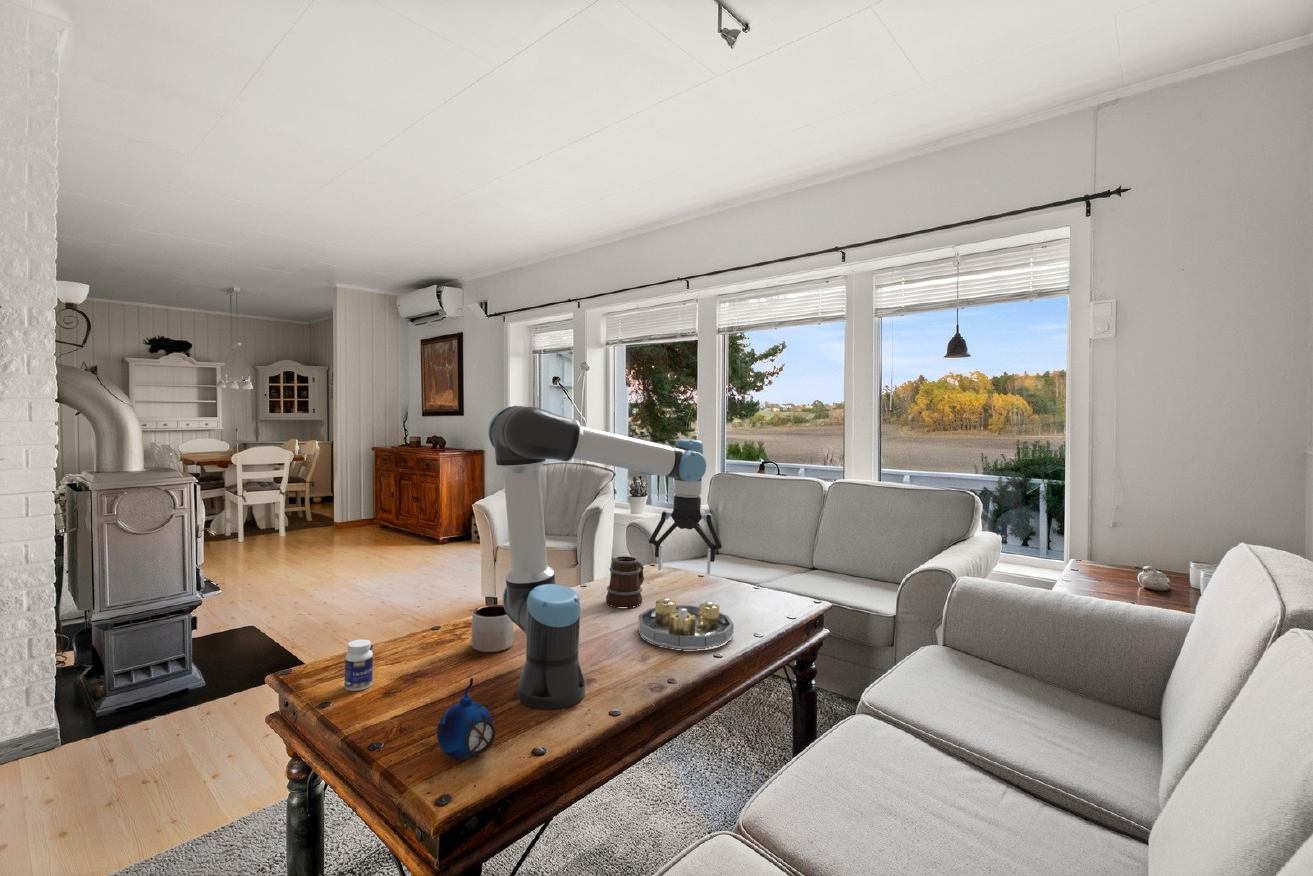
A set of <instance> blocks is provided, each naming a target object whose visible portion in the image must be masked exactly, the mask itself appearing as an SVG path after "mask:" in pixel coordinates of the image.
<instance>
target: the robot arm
mask: <svg viewBox="0 0 1313 876" xmlns="http://www.w3.org/2000/svg"><path fill="white" fill-rule="evenodd" d="M487 430H488V431H487V433H488V434H487V435H488V438H489V441H490V444H491V445H492V447H493V448H494V453H495V454H494V455H495V464H496V465H495V466H496V467H497V468H499V469H500V470H501V471H502V472H503V480H504V494H505V495H504V496H505V506H506V507H505V508H506V517H507V529H508V531H507V532H508V542H509V554H510V555H509V556H510V565H511V566H510V568H511V569H510V571H509V572H508V573H507V574H506V576H505V584H506V587H505V588H504V591H503V594H502V605H503V606H504V609H505V612H506V614H507V615H508V617H509V618H510V620H512V622H513V624H515V625H516V626H517V627H519V629H520V630H522V632H523V633H524V634H526V646H525V647H526V649H525V651H526V653H525V655H526V656H525V663H524V665H523V669H522V671H521V674H520V677H519V680H518V683H517V687H516V688H517V689H516V690H517V691H516V697H517V700H518V701H519V702H520V703H521V704H523V706H524V705H525V706H527V707H530V708H533V709H538V710H539V709H540V710H557V709H558V710H559V709H564V708H567V707H571V706H573V705H575V704H577V703H579V702H580V701H582V700H583V698H584V697H585V696H586V681H585V678H584V674H583V670H582V667H581V663H580V661H579V654H580V653H579V649H580V648H579V647H580V645H579V644H580V622H581V621H580V620H581V613H582V611H581V610H582V608H581V603H580V602H581V601H580V599H581V598H580V596H579V594H578V593H577V591H576V590H575V589H573V588H571V587H569V586H567V585H566V586H565V585H564V586H563V585H562V584H556V576H555V573H556V572H555V569H553V568H552V567H551V566H549V564H548V553H547V552H548V551H547V542H546V541H547V540H546V539H547V538H546V528H545V516H544V514H545V513H544V504H543V503H544V502H543V491H542V490H543V489H542V476H541V468H542V467H543V466H544V464H545V463H546V462H547V460H556V461H561V462H570V461H572V460H573V459H574V460H580V461H585V462H589V463H590V462H591V463H595V464H602V465H606V466H610V467H617V468H620V469H625V470H626V469H627V470H631V471H637V472H638V473H639V475H643V476H644V475H647V476H652V475H653V476H656V475H657V476H662V477H665V478H672V479H674V484H673V486H674V487H673V493H674V494H675V495H674V496H673V508H672V509H673V510H672V512H671V511H667V510H663V511H662V512H661V515H660V520H659V521H658V524H657V526H656V527H655V529H654V531H653V533H652V535H651V536H650V538H649V539H648V542H649V544H651V545H654V557H655V558H658V560H657V561H658V563H657V566H658V567H657V570H658V571H661V570H662V569H663V560H664V558H663V557H664V544H662V543H663V542H664V541H665V540H666V539H667V538H668V537H669V536H670V535H671V534H672V532H674V530H676V528H679V529H681V530H684V529H685V530H686V529H687V530H693V529H694V530H695V531H696V532H697V533H698V534H699V536H700V538H702V540H703V541H704V542H705V543H706V545H707V547H708V549H707V561H706V564H707V565H706V575H710V574H711V569H712V568H711V566H712V565H711V564H712V563H714V562H715V561H716V551H717V550H719V549H720V550H721V549H722V547H723V543H722V541H721V538H720V537H719V534H718V532H717V530H716V527H715V525H714V523H713V518H712V516H713V515H712V514H711V513H706V514H702V512H701V508H702V507H701V503H702V502H701V501H702V500H701V499H702V498H701V495H702V484H703V483H702V481H703V480H702V479H703V477H704V475H706V471H707V461H706V458H705V456H704V446H703V442H702V441H701V440H699V439H677V440H676V443H675V446H670V445H667V444H666V445H665V444H661V443H657V442H652V441H648V440H644V439H640V438H635V437H631V436H626V435H623V434H618V433H614V432H609V431H605V430H602V429H601V430H600V429H596V428H592V427H589V426H583V425H580V422H579V421H578V420H577V419H573V418H568V417H565V416H563V415H560V414H556V413H553V412H551V411H548V410H545V409H543V408H539V407H535V406H524V405H523V406H522V405H512V406H508V407H506V408H502V409H501V410H498V412H497V413H495V414H494V416H493V417H492V418H491V420H490V423H489V424H488V429H487ZM670 517H671V519H672V520H673V523H672V524H671V525H670V526H669V528H668V529H667V530H666V531H665V532H664V533H663V534H662V535H661V537H659V538H658V539H656V538H657V537H658V536H659V534H660V532H661V529H662V528H663V526H664V524H665V522H666V521H667V520H668V519H670ZM701 520H703V521H704V522H705V523H706V524H707V527H708V528H709V529H708V530H709V532H710V534H711V536H712V538H713V541H714V542H713V541H712V539H711V538H710V537H709V536H708V534H707V533H706V532H705V529H703V528H702V525H701V524H700V521H701ZM714 543H715V544H714Z"/></svg>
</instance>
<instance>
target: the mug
mask: <svg viewBox="0 0 1313 876" xmlns="http://www.w3.org/2000/svg"><path fill="white" fill-rule="evenodd" d="M644 568H645V567H644V565H643V563H642V562H641V561H639V560H638V559H637V558H636V557H634V556H633V557H632V556H625V555H623V556H616V557H614V558H613V560H612V565H611V566H610V567H609V571H610V572H611V574H610V578H609V579H610V580H609V585H608V586H607V587H606V590H607V594H606V596H605V602H607V603H606V604H607V605H608V604H609V605H612V606H611V607H613V606H615V607H614V608H616V607H628V608H627V609H630V608H629V607H633V606H637V605H639V604H641V603H643V597H642V594H641V593H642V592H643V588H642V587H641V586H642V584H643V583H644V580H645V576H644ZM609 605H608V606H609ZM641 605H642V604H641ZM639 606H640V605H639Z"/></svg>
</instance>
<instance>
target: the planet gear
mask: <svg viewBox="0 0 1313 876" xmlns="http://www.w3.org/2000/svg"><path fill="white" fill-rule="evenodd" d="M678 616H679V612H677V613H675V614H674V613H671V614H670V616H669V633H670V634H675V635H680V636H695V623H696V616H695V615H691V613H687V618H686V619H681V618H678Z"/></svg>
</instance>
